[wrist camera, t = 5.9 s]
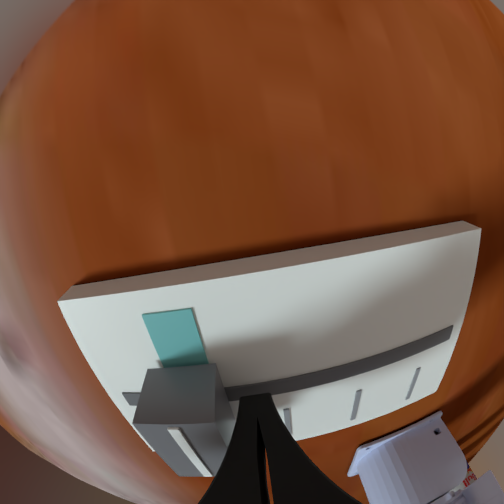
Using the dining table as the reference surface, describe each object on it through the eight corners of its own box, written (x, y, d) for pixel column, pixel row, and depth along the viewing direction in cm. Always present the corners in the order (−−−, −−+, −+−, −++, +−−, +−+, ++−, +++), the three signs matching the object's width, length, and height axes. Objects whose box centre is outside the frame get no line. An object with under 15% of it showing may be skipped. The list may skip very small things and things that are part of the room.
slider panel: (462, 220, 11) (482, 229, 10) (426, 378, 15) (436, 392, 14) (72, 285, 11) (56, 302, 9) (155, 434, 15) (152, 452, 13)
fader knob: (215, 362, 10) (214, 424, 7) (237, 427, 12) (241, 476, 9) (147, 368, 10) (131, 425, 7) (183, 430, 12) (179, 477, 9)
